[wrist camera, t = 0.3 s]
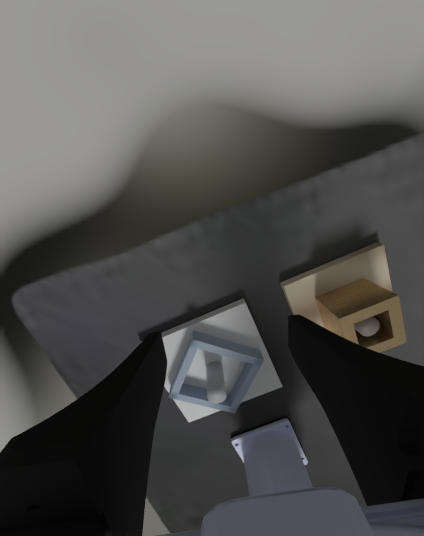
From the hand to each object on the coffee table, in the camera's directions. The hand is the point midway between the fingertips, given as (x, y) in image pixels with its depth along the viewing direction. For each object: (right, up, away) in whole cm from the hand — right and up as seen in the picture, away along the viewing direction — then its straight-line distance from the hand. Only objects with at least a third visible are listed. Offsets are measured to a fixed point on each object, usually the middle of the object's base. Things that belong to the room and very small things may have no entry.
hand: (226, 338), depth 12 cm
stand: (+13, 0, +11) cm, 17 cm away
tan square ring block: (+13, 0, +10) cm, 16 cm away
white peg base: (-1, -7, +12) cm, 14 cm away
